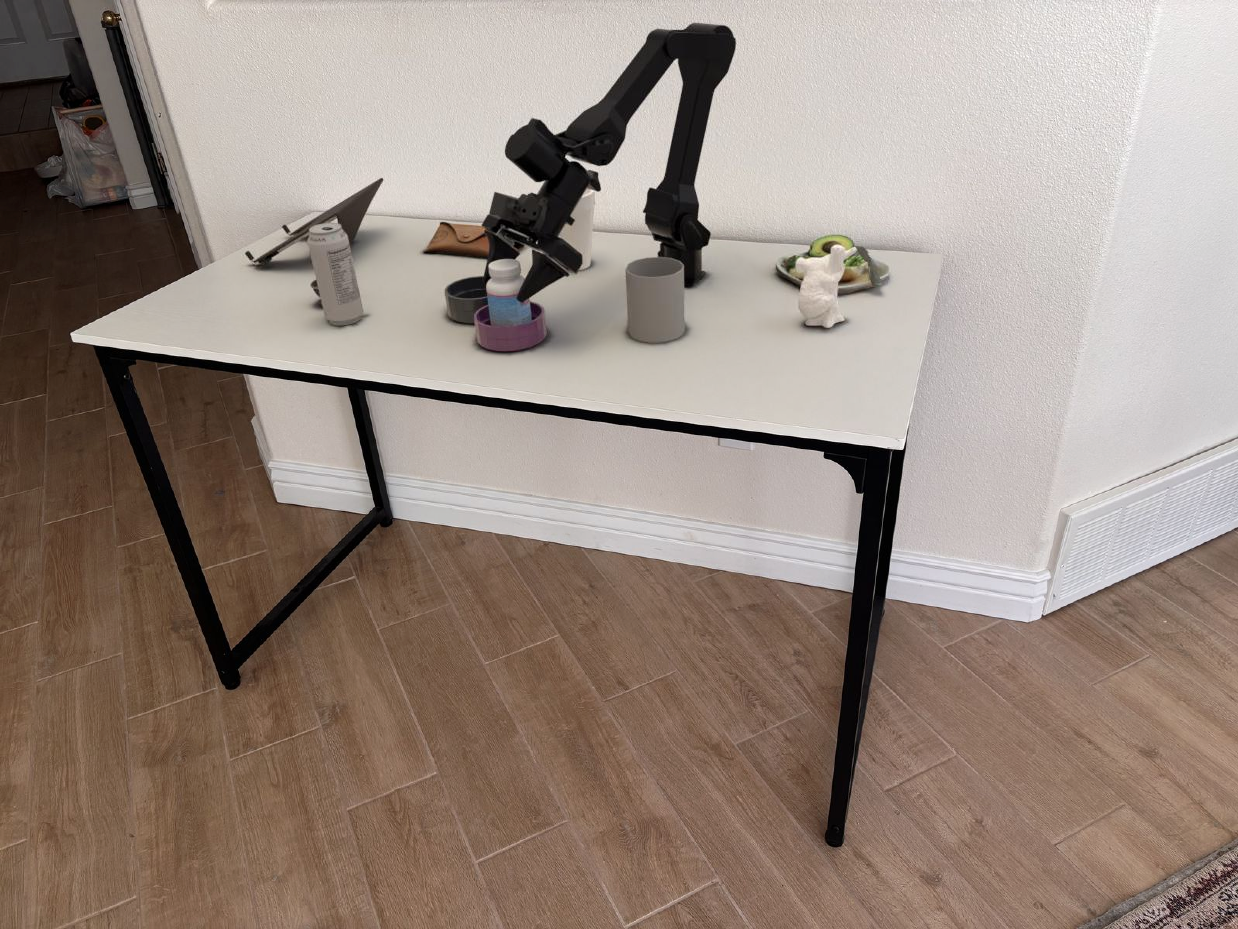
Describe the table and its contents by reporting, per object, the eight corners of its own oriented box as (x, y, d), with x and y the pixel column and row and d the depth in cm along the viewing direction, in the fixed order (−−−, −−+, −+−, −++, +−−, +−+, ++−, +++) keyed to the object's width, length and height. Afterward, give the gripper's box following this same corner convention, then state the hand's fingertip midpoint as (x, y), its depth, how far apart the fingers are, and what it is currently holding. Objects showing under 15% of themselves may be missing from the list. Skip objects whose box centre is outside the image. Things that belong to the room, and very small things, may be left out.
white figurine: (850, 315, 140) (857, 238, 134) (850, 333, 134) (857, 253, 128) (794, 313, 142) (798, 236, 135) (791, 331, 136) (795, 252, 130)
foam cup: (609, 265, 164) (604, 191, 157) (564, 278, 159) (558, 203, 152) (580, 252, 170) (575, 180, 163) (537, 264, 166) (529, 191, 159)
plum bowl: (559, 329, 141) (556, 304, 139) (523, 357, 133) (520, 331, 131) (501, 320, 145) (498, 296, 143) (463, 346, 137) (460, 321, 135)
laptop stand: (317, 259, 192) (289, 220, 189) (403, 209, 184) (376, 167, 180) (267, 301, 173) (235, 259, 169) (360, 248, 165) (328, 202, 161)
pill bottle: (535, 341, 137) (527, 268, 131) (493, 346, 136) (484, 273, 130) (531, 325, 142) (523, 254, 136) (491, 330, 141) (482, 259, 135)
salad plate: (921, 286, 148) (925, 258, 146) (826, 307, 143) (828, 279, 140) (850, 251, 164) (852, 225, 161) (762, 269, 158) (763, 243, 156)
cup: (645, 347, 134) (642, 281, 129) (618, 328, 140) (615, 264, 135) (695, 333, 137) (694, 269, 132) (667, 315, 143) (665, 253, 138)
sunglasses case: (419, 251, 174) (423, 215, 173) (438, 258, 180) (443, 224, 180) (505, 258, 168) (510, 221, 167) (521, 266, 174) (526, 230, 174)
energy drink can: (347, 309, 152) (327, 219, 144) (372, 316, 149) (353, 224, 141) (318, 322, 148) (296, 230, 140) (343, 329, 145) (322, 236, 137)
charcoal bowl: (522, 304, 150) (519, 280, 148) (488, 328, 143) (485, 302, 140) (471, 296, 154) (468, 272, 152) (435, 319, 147) (431, 294, 144)
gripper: (484, 157, 135) (429, 249, 135) (558, 180, 122) (497, 282, 123) (534, 199, 143) (483, 286, 143) (608, 225, 130) (551, 320, 131)
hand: (501, 292), depth 135 cm, fingers open, 9 cm apart
